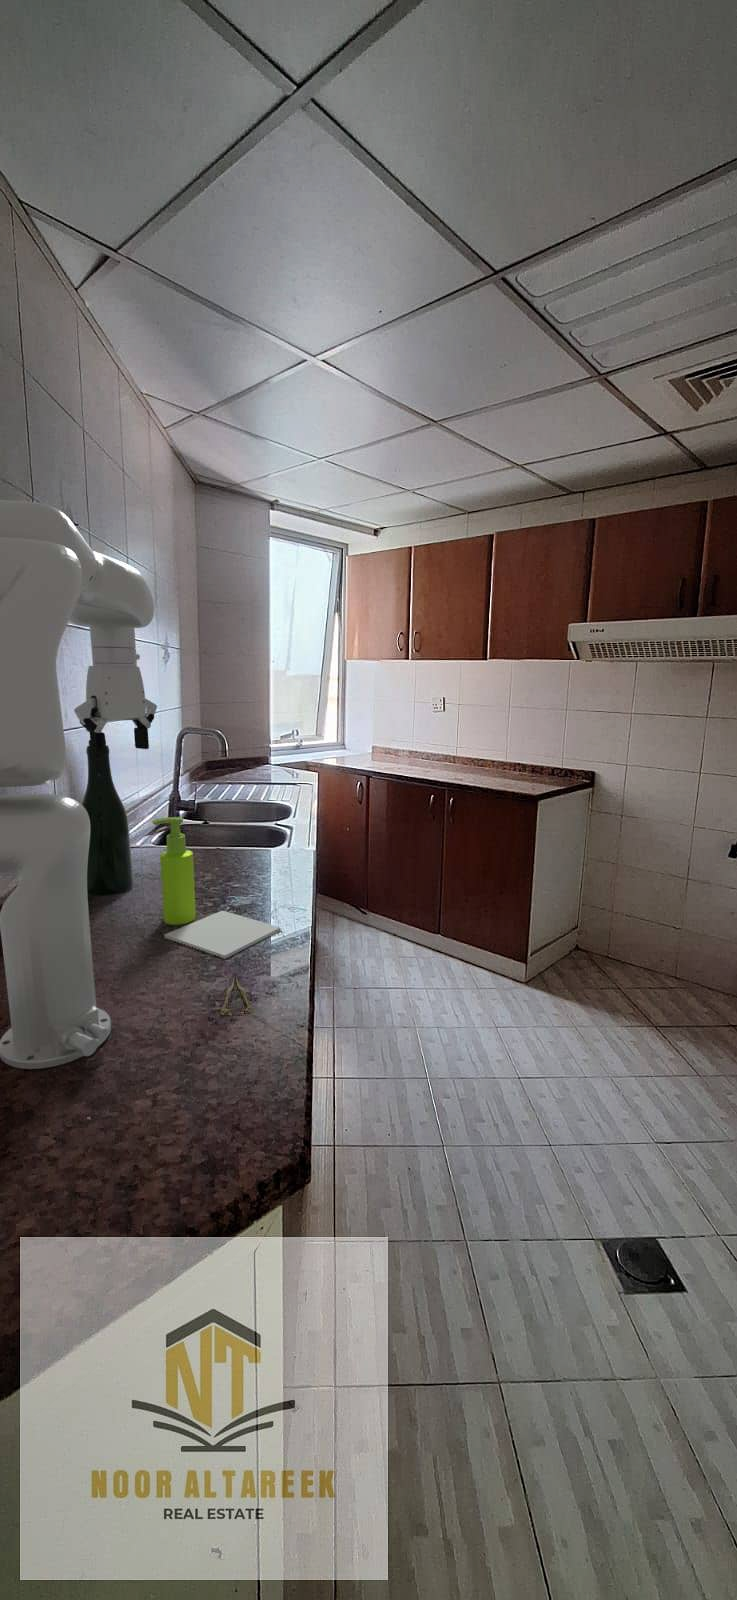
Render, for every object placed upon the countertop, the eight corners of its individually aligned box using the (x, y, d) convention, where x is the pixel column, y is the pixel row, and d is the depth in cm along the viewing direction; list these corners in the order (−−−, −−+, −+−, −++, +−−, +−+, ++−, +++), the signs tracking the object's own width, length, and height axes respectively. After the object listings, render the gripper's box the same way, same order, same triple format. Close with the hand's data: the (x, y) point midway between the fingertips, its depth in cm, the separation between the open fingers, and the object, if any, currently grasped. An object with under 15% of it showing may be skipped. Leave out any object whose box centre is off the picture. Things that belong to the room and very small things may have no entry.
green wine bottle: (136, 880, 137) (127, 736, 131) (130, 895, 127) (120, 741, 121) (86, 883, 134) (75, 737, 128) (77, 899, 124) (63, 741, 118)
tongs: (242, 975, 94) (242, 963, 94) (252, 1022, 82) (252, 1009, 82) (215, 979, 93) (214, 967, 93) (221, 1027, 81) (221, 1014, 81)
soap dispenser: (156, 916, 116) (150, 816, 112) (193, 911, 119) (188, 813, 115) (159, 927, 110) (153, 823, 107) (198, 921, 113) (193, 819, 110)
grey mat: (280, 930, 110) (280, 927, 110) (224, 958, 98) (224, 955, 98) (222, 913, 118) (222, 910, 118) (164, 937, 106) (164, 934, 106)
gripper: (138, 659, 118) (144, 745, 122) (57, 657, 103) (66, 754, 107) (165, 659, 114) (170, 748, 118) (86, 657, 100) (94, 758, 103)
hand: (121, 751), depth 112 cm, fingers open, 9 cm apart
